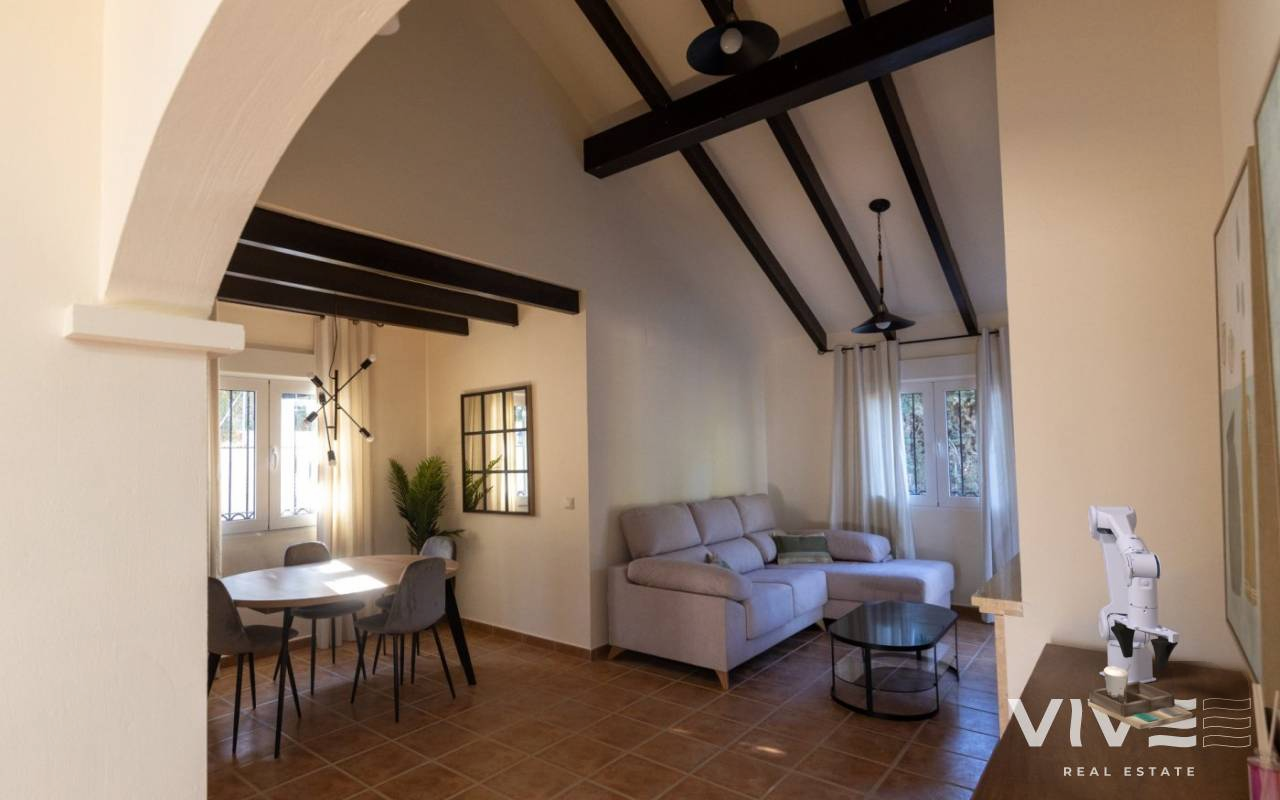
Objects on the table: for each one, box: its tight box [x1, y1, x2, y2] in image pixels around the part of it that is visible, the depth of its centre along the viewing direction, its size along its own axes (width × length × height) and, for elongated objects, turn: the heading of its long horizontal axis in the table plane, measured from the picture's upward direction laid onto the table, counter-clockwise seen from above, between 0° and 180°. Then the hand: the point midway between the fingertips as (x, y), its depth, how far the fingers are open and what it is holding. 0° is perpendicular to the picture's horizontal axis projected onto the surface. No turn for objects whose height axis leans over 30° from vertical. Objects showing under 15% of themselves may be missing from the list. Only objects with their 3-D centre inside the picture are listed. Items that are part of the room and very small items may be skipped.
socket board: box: [1087, 681, 1194, 730], centre depth 151 cm, size 16×12×4 cm
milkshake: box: [1103, 664, 1131, 704], centre depth 151 cm, size 4×5×10 cm
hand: (1144, 662), depth 154 cm, fingers open, 7 cm apart
